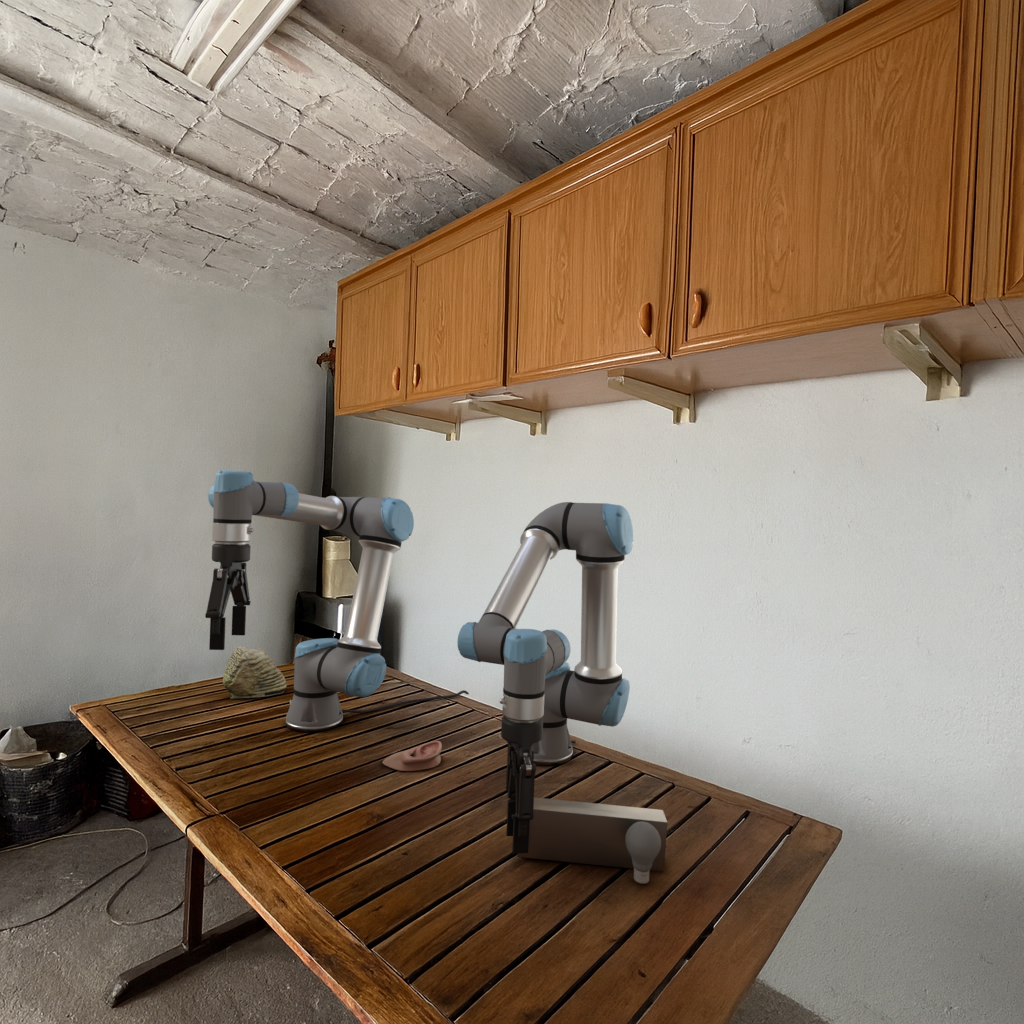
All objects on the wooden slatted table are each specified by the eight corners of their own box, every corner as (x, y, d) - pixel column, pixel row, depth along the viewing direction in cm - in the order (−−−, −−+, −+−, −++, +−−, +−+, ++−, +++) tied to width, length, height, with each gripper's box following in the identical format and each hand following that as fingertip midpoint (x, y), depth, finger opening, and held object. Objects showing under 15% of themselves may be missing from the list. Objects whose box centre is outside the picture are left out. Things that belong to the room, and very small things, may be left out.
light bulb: (619, 871, 111) (622, 814, 111) (652, 871, 112) (655, 814, 111) (628, 892, 105) (631, 832, 105) (663, 892, 106) (666, 832, 105)
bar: (658, 857, 116) (662, 809, 116) (663, 872, 112) (667, 822, 112) (518, 843, 118) (522, 795, 118) (517, 856, 113) (521, 807, 113)
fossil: (218, 695, 195) (220, 647, 195) (278, 685, 208) (279, 640, 207) (228, 703, 189) (230, 653, 188) (289, 692, 201) (290, 645, 201)
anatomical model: (377, 751, 149) (396, 733, 160) (377, 767, 149) (395, 749, 160) (431, 758, 146) (446, 740, 157) (430, 775, 146) (445, 756, 157)
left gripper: (230, 548, 123) (226, 656, 123) (266, 539, 148) (262, 630, 148) (190, 546, 122) (186, 656, 123) (232, 538, 147) (229, 629, 147)
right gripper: (493, 700, 123) (488, 819, 123) (511, 735, 105) (505, 874, 105) (531, 700, 124) (526, 817, 125) (555, 734, 106) (549, 871, 107)
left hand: (228, 642), depth 135 cm, fingers open, 13 cm apart
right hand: (516, 843), depth 115 cm, fingers open, 5 cm apart
